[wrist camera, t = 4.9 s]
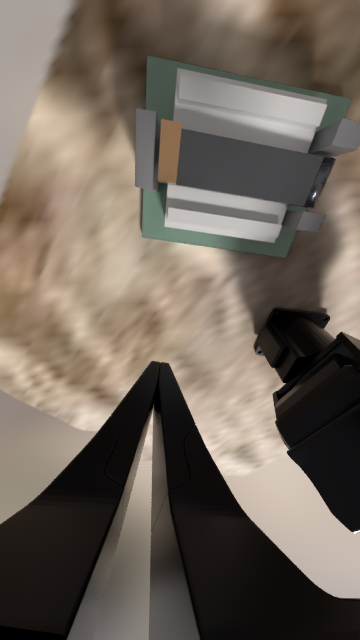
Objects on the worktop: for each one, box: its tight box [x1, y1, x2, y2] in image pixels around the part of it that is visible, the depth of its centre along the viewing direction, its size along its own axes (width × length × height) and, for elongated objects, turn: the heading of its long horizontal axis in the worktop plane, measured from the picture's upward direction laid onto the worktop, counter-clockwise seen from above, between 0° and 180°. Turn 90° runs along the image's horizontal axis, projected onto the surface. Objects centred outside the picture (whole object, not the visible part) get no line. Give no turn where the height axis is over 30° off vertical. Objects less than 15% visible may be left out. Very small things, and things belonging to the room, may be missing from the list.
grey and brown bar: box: [158, 119, 336, 208], centre depth 11 cm, size 10×2×2 cm, turn 82°
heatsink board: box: [135, 55, 360, 258], centre depth 13 cm, size 13×10×5 cm
